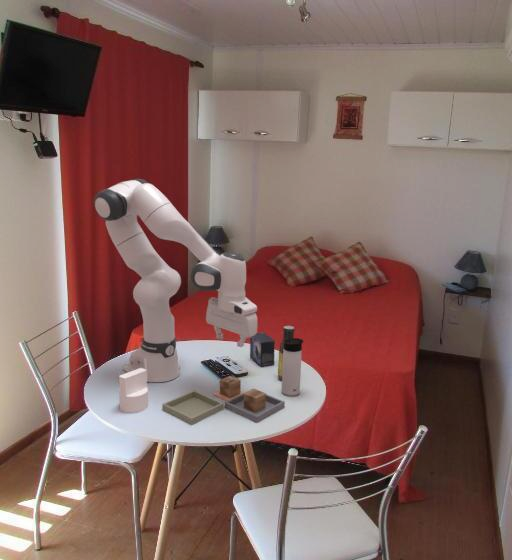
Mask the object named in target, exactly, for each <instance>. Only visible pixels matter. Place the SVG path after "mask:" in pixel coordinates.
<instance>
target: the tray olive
mask: <svg viewBox="0 0 512 560" xmlns="http://www.w3.org/2000/svg"><path fill="white" fill-rule="evenodd" d="M224 409H225V402H221V401H219V400H217V399H215V398H212V397H211V396H209V395H206V394H204V393H201V392H199V391H197V390H192V391H189V392H187V393H185V394H182V395H180V396H178V397H175V398H174V399H171V400H169V401H166V402H164V403H162V411H164V412H166V413H167V414H169V415H172V416H174V417H175V418H178V419H179V420H181V421H184V422H185V423H187V424H189V425H191V426H193V425H195V424H197V423H199V422H201V421H203V420H205V419H207V418H209V417H212V415H216V414H217V413H219V412H221V411H223V410H224Z"/></svg>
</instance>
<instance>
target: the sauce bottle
mask: <svg viewBox="0 0 512 560" xmlns="http://www.w3.org/2000/svg"><path fill="white" fill-rule="evenodd" d="M282 330H283V337H282V340H281V341H280V343H279V348H278V349H279V351H278V362H277V363H278V364H277V378H278V380H280V381H282V370H283V348H284V341H285V340H287V339H291V338H295V335H294V334H295V327H294V326H291V325H285V326H283V329H282Z"/></svg>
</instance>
